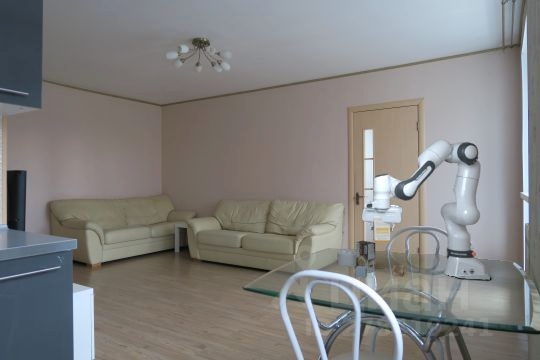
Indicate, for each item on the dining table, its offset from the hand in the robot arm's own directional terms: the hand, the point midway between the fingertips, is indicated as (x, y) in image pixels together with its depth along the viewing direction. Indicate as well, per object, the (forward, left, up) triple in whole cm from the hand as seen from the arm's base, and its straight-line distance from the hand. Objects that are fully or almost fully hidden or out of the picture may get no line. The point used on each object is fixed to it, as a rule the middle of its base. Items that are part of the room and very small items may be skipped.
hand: (381, 230), depth 200 cm
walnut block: (-8, -9, -25) cm, 28 cm away
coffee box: (+10, -12, -25) cm, 30 cm away
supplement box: (0, 0, -6) cm, 6 cm away
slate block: (+10, +2, -25) cm, 27 cm away
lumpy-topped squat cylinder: (+22, -22, -25) cm, 40 cm away
